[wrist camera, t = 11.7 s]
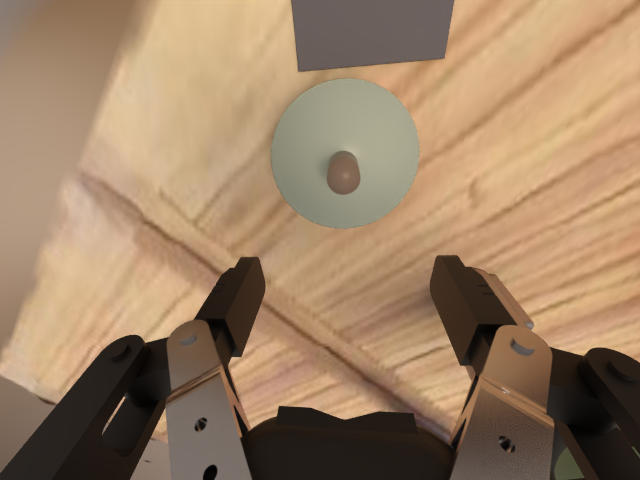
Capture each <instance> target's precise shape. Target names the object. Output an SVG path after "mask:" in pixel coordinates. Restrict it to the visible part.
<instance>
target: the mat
mask: <svg viewBox="0 0 640 480" xmlns="http://www.w3.org/2000/svg"><path fill="white" fill-rule="evenodd" d="M453 4H454V0H292V8H293V18H294V29H295V39H296V49H297V59H298V69H299V71H310V70H321V69H332V68H343V67H354V66H365V65H376V64H387V63H399V62H410V61H421V60H432V59H443V58H445V52H446V46H447V40H448V34H449V28H450V22H451V16H452V10H453Z"/></svg>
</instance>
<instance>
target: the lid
mask: <svg viewBox="0 0 640 480" xmlns="http://www.w3.org/2000/svg"><path fill="white" fill-rule="evenodd" d="M419 153H420V151H419V139H418V134H417V130H416V127H415V124H414V121H413V119H412V118H411V116H410V114H409V112H408V110H407V109H406V108H405V106H404V105H403V104H402V102H401V101H400V100H399V99H398V98H397V97H396V96H395V95H393V94H392V93H390V92H389V91H388V90H386V89H385V88H383V87H381V86H379V85H377V84H375V83H372V82H368V81H365V80H360V79H336V80H330V81H327V82H324V83H321V84H318V85H316V86H314V87H312V88H310V89H309V90H307V91H306V92H304V93H303V94H301V95H300V96H299V97H298V98H297V99H296V100H295V101H294V102H293V103H292V104H291V105H290V106H289V107H288V109H287V110H286V111H285V113H284V114H283V116H282V118H281V119H280V121H279V123H278V126H277V128H276V130H275V134H274V137H273V141H272V148H271V164H272V171H273V175H274V179H275V181H276V184H277V187H278V189H279V190H280V192H281V194H282V196H283V197H284V199H285V200H286V201H287V203H288V204H289V205H290V206H291V207H292V208H293V209H294V210H295V211H296V212H297V213H299V214H300V215H301V216H303V217H304V218H306V219H308V220H310V221H311V222H314V223H316V224H319V225H322V226H326V227H330V228H341V229H346V228H355V227H360V226H364V225H367V224H370V223H372V222H374V221H377V220H378V219H380V218H382V217H383V216H385V215H386V214H388V213H389V212H390V211H392V210H393V209H394V208H395V207H396V206H397V205H398V204H399V203H400V202H401V200H402V199H403V198H404V197H405V195H406V194H407V192H408V191H409V189H410V187H411V185H412V183H413V181H414V178H415V175H416V172H417V168H418V163H419Z"/></svg>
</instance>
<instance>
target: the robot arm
mask: <svg viewBox="0 0 640 480" xmlns="http://www.w3.org/2000/svg"><path fill="white" fill-rule="evenodd" d="M430 292H431V296H432V298H433V301H434V303H435V306H436V308H437V310H438V313H439V315H440V318H441V320H442V323H443V325H444V327H445V330H446V332H447V335H448V337H449V339H450V342H451V344H452V347H453V349H454V351H455V354H456V356H457V359H458V361H459V364H460V365H461V366H465V367H466V370H467V372H468V374H469V377H470V379H471V381H472V382H471V385H470V388H469V391H468V393H467V396H466V399H465V402H464V404H463V407H462V410H461V413H460V415H459V418H458V421H457V423H456V426H455V428H454V430H453V432H452V435H451V437H450V440H449V442H448V443H447V442H445V441H444V440H443V439H442V438H440V437H439V436H438V435H436V434H434V433H433V432H431V431H430V430H428V429H426V428H424V427H422V426H419V425H416V422H415V418H414V413H398V412H380V411H379V412H375V413H371V414H367V415H363V416H359V417H355V418H351V419H346V420H344V419H340V418H337V417H334V416H332V415H329V414H326V413H324V412H321V411H318V410H315V409H313V408H306V407H288V406H279V409H278V414H277V416H276V417H273V418H270V419H268V420H265V421H263V422H262V423H260V424H258V425H257V426H255V427H254V428H252V429H251V427H250V425H249V422H248V420H247V417H246V415H245V413H244V410H243V407H242V404H241V401H240V398H239V395H238V392H237V389H236V386H235V383H234V380H233V377H232V374H231V371H230V368H229V366H228V364H229V362H230V359H231V357H242V354H243V351H244V348H245V346H246V343H247V340H248V338H249V335H250V332H251V329H252V327H253V324H254V321H255V318H256V316H257V313H258V310H259V308H260V305H261V302H262V299H263V297H264V294H265V279H264V275H263V271H262V268H261V264H260V260H259V258H258V257H241V258H240V259H239V261H238V263H237V264H236V266H235V268H229V269H228V270H227V271H226V272H225V273H223V274H222V275H221V277H220V278H219V280H218V281H217V283H216V286H214V288H213V289H212V293H210V294H209V296H208V297H207V299H206V301H205V302H204V304H203V305H202V307H201V309H200V310H199V312H198V314H197V315H196V317H195V318H194V320H191V321H188V322H186V323H184V324H182V325H180V326H179V327H177V328H176V329H175V330H174V331H173V332H172V333H171V335H170V336H169V337H167V338H163V339H159V340H155V341H151V342H148V343H145V342H144V340H143V339H142V338H141V337H140V336H138V335H128V336H125V337H122V338H120V339H118V340H116V341H114V342H112V343H111V344H110V345H108V346H107V347H106V348H105V349H104V350H103V351H102V352H101V353H100V354H99V355H98V356H97V358H96V359H95V360H94V361H93V362H92V364H91V365H90V366H89V367H88V368H87V370H86V371H85V372H84V373H83V374H82V376H81V377H80V378H79V379H78V380H77V382H76V383H75V384H74V385H73V386H72V388H71V389H70V390H69V391H68V392H67V394H66V395H65V396H64V397H63V398H62V400H61V401H60V402H59V403H58V404H57V406H56V407H55V408H54V409H53V411H52V412H51V413H50V414H49V415H48V417H47V418H46V419H45V420H44V421H43V423H42V424H41V425H40V426H39V427H38V429H37V430H36V431H35V432H34V433H33V435H32V436H31V437H30V438H29V439H28V441H27V442H26V443H25V444H24V445H23V447H22V448H21V449H20V450H19V451H18V453H17V454H16V455H15V456H14V458H13V459H12V460H11V461H10V462H9V463H8V465H7V466H6V467H5V468H4V470H3V471H2V472H1V473H0V480H130V478H131V476H132V474H133V472H134V470H135V468H136V466H137V464H138V462H139V460H140V458H141V456H142V454H143V452H144V450H145V448H146V446H147V444H148V442H149V440H150V438H151V436H152V434H153V431H154V429H155V427H156V425H157V423H158V421H159V419H160V417H161V415H162V413H163V411H164V409H165V407H166V420H167V431H168V443H169V454H170V467H171V478H172V480H556V479H555V475H554V468H555V465H556V462H557V460H558V457H559V456H560V455H561V453H562V452H563V450H564V449H565V448H566V447H568V449H569V451H570V452H571V454H572V456H573V458H574V459H575V461H576V463H577V465H578V466H579V468H580V470H581V472H582V474H583V475H584V477H585V478H580V479H570V480H640V458H639V457H638V456H637V454H636V453H635V451H634V450H633V449H632V447H631V446H630V445H629V443H628V442H627V440H626V439H625V438H624V436H623V435H622V434H621V432H620V431H619V430H618V428H617V426H619V427H620V429H621V430H622V431H623V433H624V434H625V435H626V437H627V438H628V439H629V441H630V442H631V443H632V445H633V446H634V447H635V449H636V450H637V451H638V453H639V454H640V363H639V362H638V361H636V360H634V359H633V358H631V357H629V356H627V355H625V354H623V353H620V352H618V351H615V350H611V349H607V348H593V349H590V350H589V351H588V352H587V353H586V354H585V356H581V355H577V354H574V353H570V352H566V351H562V350H559V349H555V348H552V347H549V346H548V344H547V343H546V342H545V341H544V340H543V339H542V338H541V337H539V336H538V335H537V334H535V333H533V332H532V331H531V330H532V328H533V326H534V323H533V321H532V320H531V319H530V317H529V316H528V315H527V314H526V312H525V311H524V310H523V309H522V307H521V306H520V305H519V304H518V302H517V301H516V300H515V298H514V297H513V296H512V295H511V293H510V292H509V291H508V290H507V288H506V287H505V286H504V285H503V283H502V282H501V281H500V279H499V278H498V277H497V276H496V275H489V274H487V273H486V272H484V271H482V270H479V269H474V268H471V267H465V266H464V264H463V263H462V261H461V260H460V258H459V257H458V256H457V255H438V256H437V257H436V259H435V263H434V267H433V272H432V276H431V280H430ZM123 397H125V400H124V401H123V403H122V405H121V406H120V408H119V409H118V411H117V413H116V414H115V416H114V417H113V419H112V421H111V422H110V424H109V425H108V427H107V428H106V430H105V432H104V433H103V435H102V432H103V429H104V427H105V425H106V423H107V422H108V420H109V418H110V417H111V415H112V414H113V412H114V411H115V409H116V408H117V406H118V404H119V403H120V401H121V400H122V398H123Z"/></svg>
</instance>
